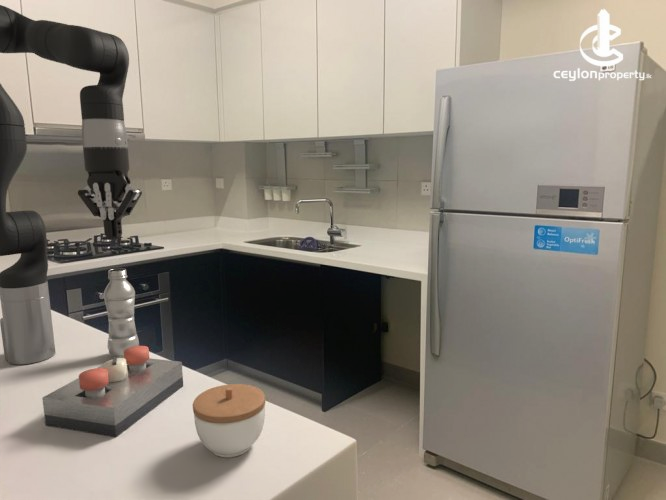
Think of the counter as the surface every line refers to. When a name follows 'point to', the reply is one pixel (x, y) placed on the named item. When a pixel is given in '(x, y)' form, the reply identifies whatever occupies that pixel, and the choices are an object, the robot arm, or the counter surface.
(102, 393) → the knob outer
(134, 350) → the knob inner
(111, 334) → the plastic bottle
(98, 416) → the panel
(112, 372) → the dial
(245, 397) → the lidded jar
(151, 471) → the counter surface
